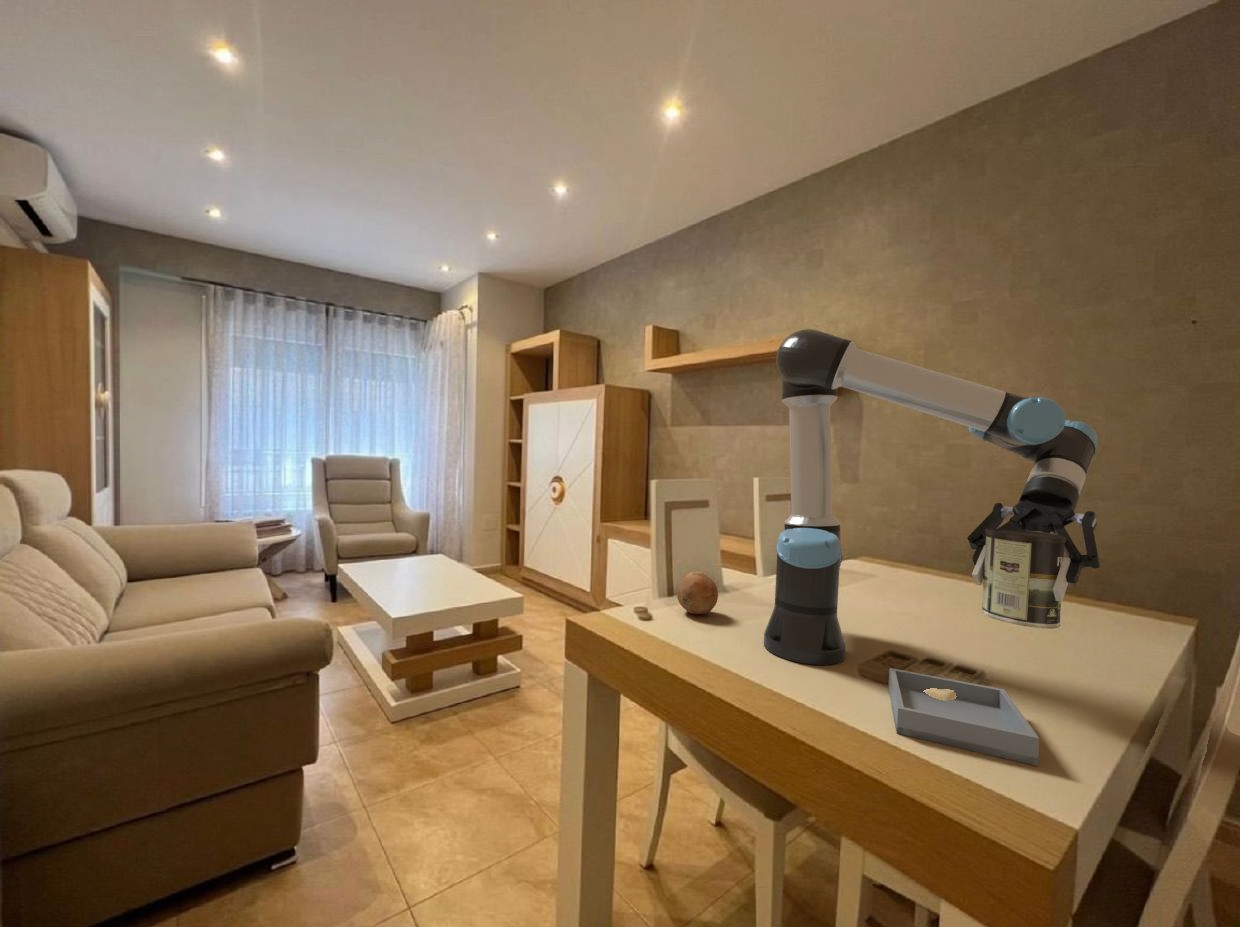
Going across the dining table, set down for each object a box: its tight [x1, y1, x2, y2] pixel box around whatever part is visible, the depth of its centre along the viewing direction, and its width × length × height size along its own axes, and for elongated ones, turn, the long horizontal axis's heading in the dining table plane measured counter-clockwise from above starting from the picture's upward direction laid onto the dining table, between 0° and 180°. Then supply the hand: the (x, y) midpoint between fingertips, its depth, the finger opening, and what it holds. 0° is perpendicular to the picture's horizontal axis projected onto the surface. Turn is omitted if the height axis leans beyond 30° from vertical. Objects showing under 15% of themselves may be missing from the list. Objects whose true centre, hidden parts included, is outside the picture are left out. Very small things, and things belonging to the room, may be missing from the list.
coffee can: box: [980, 528, 1066, 630], centre depth 83 cm, size 10×10×14 cm
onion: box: [676, 571, 719, 615], centre depth 121 cm, size 10×10×10 cm
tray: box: [887, 667, 1040, 767], centre depth 74 cm, size 16×16×4 cm
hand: (1014, 587), depth 81 cm, fingers closed on coffee can, 10 cm apart
